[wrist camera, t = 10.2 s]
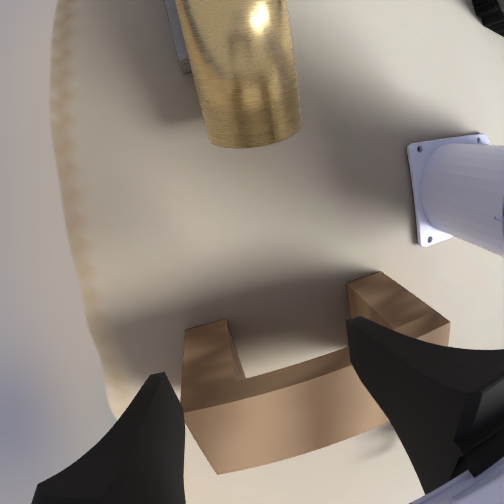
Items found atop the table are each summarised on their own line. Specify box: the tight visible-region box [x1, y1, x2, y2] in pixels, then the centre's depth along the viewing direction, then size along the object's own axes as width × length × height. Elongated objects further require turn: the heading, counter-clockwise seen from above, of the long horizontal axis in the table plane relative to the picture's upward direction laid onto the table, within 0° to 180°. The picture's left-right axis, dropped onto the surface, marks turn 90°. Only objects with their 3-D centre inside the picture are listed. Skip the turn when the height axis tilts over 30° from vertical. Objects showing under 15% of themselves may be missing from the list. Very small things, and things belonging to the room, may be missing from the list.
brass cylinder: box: [175, 0, 302, 148], centre depth 12 cm, size 5×12×5 cm, turn 14°
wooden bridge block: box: [180, 272, 450, 475], centre depth 20 cm, size 15×6×8 cm, turn 104°
